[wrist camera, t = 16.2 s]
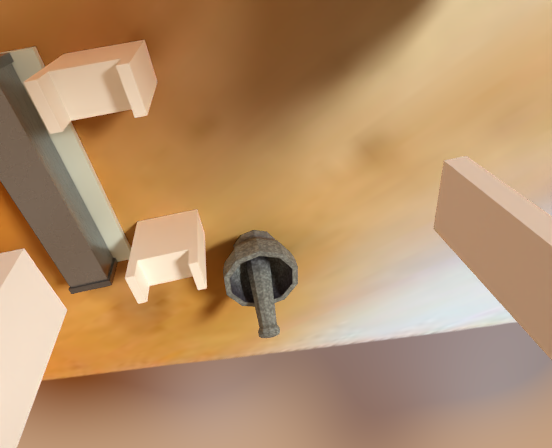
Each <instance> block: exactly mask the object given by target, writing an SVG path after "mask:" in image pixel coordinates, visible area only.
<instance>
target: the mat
mask: <svg viewBox="0 0 552 448" xmlns="http://www.w3.org/2000/svg"><path fill="white" fill-rule="evenodd" d="M8 52H9V53H10V55H11V56H12V58H13V60H14V62H12V65H13V67H14V69H15V71H16V73H17V75H18V77H19V79H20V80H21V82H22V84H23V86H24V88H25V90H26V92H27V94H28V96H29V98H30V100H31V102H32V103H33V105H34V107H35V109H36V111H37V113H38V115H39V117H40V119H41V121H42V123H43V124H44V122H43V120H42V118H41V116H40V114H39V112H38V110H37V108H36V106H35V104H34V102H33V100H32V99H31V97H30V95H29V93H28V91H27V89H26V87H25V85H24V83H23V82H24V81H25V80H27V79H28V78H30V77H31V76H33V75H34V74H35V73H37V72H38V71H40V70H41V69H43V68H44V67H45V65H44V63H43V61H42V59H41V57H40V55H39V53H38V51H37V48H36V46H35V47H29V48H23V49H18V50H12V51H6V52H0V54H2V53H8ZM44 126H45V128H46V130H47V132H48V134H49V136H50V138H51V140H52V142H53V144H54V145H55V147H56V149H57V151H58V153H59V155H60V157H61V159H62V161H63V163H64V165H65V167H66V168H67V170H68V172H69V174H70V176H71V178H72V180H73V182H74V184H75V186H76V188H77V189H78V191H79V193H80V195H81V197H82V199H83V201H84V203H85V205H86V207H87V209H88V210H89V212H90V214H91V216H92V218H93V220H94V222H95V224H96V226H97V228H98V230H99V232H100V233H101V235H102V237H103V239H104V241H105V243H106V245H107V247H108V249H109V251H110V253H111V254H112V256H113V258H115V257H116V259H117V261H118V262H119V261H124V260H129V257H130V252H131V247H130V244H129V242H128V240H127V238H126V236H125V234H124V232H123V230H122V228H121V226H120V223H119V221H118V219H117V217H116V215H115V213H114V211H113V209H112V207H111V204H110V202H109V200H108V198H107V196H106V194H105V192H104V190H103V188H102V185H101V183H100V181H99V179H98V177H97V175H96V173H95V171H94V169H93V166H92V164H91V162H90V160H89V158H88V156H87V154H86V152H85V150H84V148H83V145H82V143H81V141H80V139H79V137H78V135H77V133H76V131H75V129H74V126H73V124H72V122H70V123H69V124H68V125H67V127H66V128H65V129H64V131H63V132H58V133H52V134H50V133H49V131H48V129H47V127H46V125H45V124H44Z"/></svg>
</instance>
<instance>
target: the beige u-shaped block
mask: <svg viewBox="0 0 552 448" xmlns="http://www.w3.org/2000/svg"><path fill="white" fill-rule="evenodd" d="M192 276H193V278H194V281H195V283H196V286H197V289H198V290H202V289H206V288H207V279H206V253H205V233H204V229H203V226H202V223H201V220H200V217H199V213H198V210H197V209H195V210H191V211H186V212H181V213H176V214H171V215H167V216H162V217H157V218H152V219H147V220H143V221H138V222H137V225H136V230H135V234H134V239H133V243H132V248H131V252H130V257H129V261H128V266H127V271H126V275H125V279H126V281H127V283H128V285H129V287H130V289H131V291H132V293H133V295H134V297H135V298H136V300H137V302H138V304H139V303H143V302H147V300H148V292H149V286H151V285H156V284H160V283H165V282H169V281H174V280H178V279H183V278H187V277H192Z"/></svg>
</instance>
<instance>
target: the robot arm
mask: <svg viewBox="0 0 552 448" xmlns="http://www.w3.org/2000/svg"><path fill="white" fill-rule="evenodd" d="M434 230H435V231H436V232H437V233H438V234H439V235H440V237H441V238H442V239H443V240H444V241H445V242H446V243H447V244H448V245H449V247H450V248H451V249H452V250H453V251H454V252H455V253H456V254H457V255H458V257H459V258H460V259H461V260H462V261H463V262H464V263H465V264H466V265H467V267H468V268H469V269H470V270H471V271H472V272H473V273H474V274H475V275H476V277H477V278H478V279H479V280H480V281H481V282H482V283H483V284H484V285H485V287H486V288H487V289H488V290H489V291H490V292H491V293H492V294H493V295H494V297H495V298H496V299H497V300H498V301H499V302H500V303H501V304H502V305H503V307H504V308H505V309H506V310H507V311H508V312H509V313H510V314H511V315H512V317H513V318H514V319H515V320H516V321H517V322H518V323H519V324H520V325H521V326H522V328H523V329H524V330H525V331H526V332H527V333H528V334H529V335H530V337H531V338H533V340H534V341H535V342H536V343H537V344H538V345H539V347H540V348H541V349H542V350H543V351H544V352H545V353H546V354H547V355H548V356H549V357H550V359H551V360H552V216H551V215H549V214H548V213H546V212H545V211H544V210H542V209H541V208H539V207H538V206H536V205H535V204H534V203H532V202H531V201H529V200H528V199H527V198H525V197H524V196H522V195H521V194H520V193H518V192H517V191H515V190H514V189H512V188H511V187H510V186H508V185H507V184H505V183H504V182H503V181H501V180H500V179H498V178H497V177H496V176H494V175H493V174H491V173H490V172H488V171H487V170H486V169H484V168H483V167H481V166H480V165H479V164H477V163H476V162H474V161H473V160H472V159H470V158H469V157H467V156H464V157H459V158H454V159H449V160H444V163H443V170H442V176H441V183H440V190H439V196H438V203H437V209H436V216H435V222H434ZM66 312H67V309H66V308H65V306H64V305H63V303H62V302H61V300H60V299H59V298H58V296H57V295H56V293H55V292H54V290H53V289H52V288H51V286H50V285H49V283H48V282H47V280H46V279H45V278H44V276H43V275H42V273H41V272H40V270H39V269H38V268H37V266H36V265H35V263H34V262H33V260H32V259H31V257H30V256H29V255H28V253H27V252H26V250H25V249H24V248H23V249H18V250H14V251H9V252H4V253H0V448H17V446H18V443H19V440H20V437H21V435H22V432H23V429H24V426H25V424H26V421H27V418H28V415H29V413H30V410H31V407H32V404H33V402H34V399H35V396H36V393H37V391H38V388H39V385H40V383H41V380H42V377H43V375H44V372H45V369H46V366H47V364H48V361H49V358H50V356H51V353H52V350H53V347H54V345H55V342H56V339H57V336H58V334H59V331H60V328H61V325H62V323H63V320H64V317H65V315H66Z"/></svg>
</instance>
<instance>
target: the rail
mask: <svg viewBox="0 0 552 448" xmlns="http://www.w3.org/2000/svg"><path fill="white" fill-rule="evenodd" d="M12 62H14V60H13V58H12V56H11V55H10V53H9V52H8V53H2V54H0V181H1V182H2V184H3V185H4V187H5V188H6V190H7V191H8V193H9V195H10V196H11V198H12V199H13V201H14V202H15V204H16V205H17V207H18V208H19V210H20V211H21V213H22V214H23V216H24V217H25V219H26V220H27V222H28V223H29V225H30V227H31V228H32V230H33V231H34V233H35V234H36V236H37V237H38V239H39V240H40V242H41V243H42V245H43V246H44V248H45V249H46V251H47V252H48V254H49V255H50V257H51V259H52V260H53V262H54V263H55V265H56V266H57V268H58V269H59V271H60V272H61V274H62V275H63V277H64V278H65V280H66V281H67V283H68V284H69V286H70V287H69V291H70V292H71V294H74V293H78V292H83V291H87V290H92V289H96V288H101V287H106V286H110V285H112V283H113V279H114V275H115V271H116V267H117V263H118V261H117V259H116V257H115V258H113V256H112V254H111V253H110V251H109V249H108V247H107V245H106V243H105V241H104V239H103V237H102V235H101V233H100V232H99V230H98V228H97V226H96V224H95V222H94V220H93V218H92V216H91V214H90V212H89V210H88V209H87V207H86V205H85V203H84V201H83V199H82V197H81V195H80V193H79V191H78V189H77V188H76V186H75V184H74V182H73V180H72V178H71V176H70V174H69V172H68V170H67V168H66V167H65V165H64V163H63V161H62V159H61V157H60V155H59V153H58V151H57V149H56V147H55V145H54V144H53V142H52V140H51V138H50V136H49V134H48V132H47V130H46V128H45V126H44V124H43V123H42V121H41V119H40V117H39V115H38V113H37V111H36V109H35V107H34V105H33V103H32V102H31V100H30V98H29V96H28V94H27V92H26V90H25V88H24V86H23V84H22V82H21V80H20V79H19V77H18V75H17V73H16V71H15V69H14V67H13V65H12Z"/></svg>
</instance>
